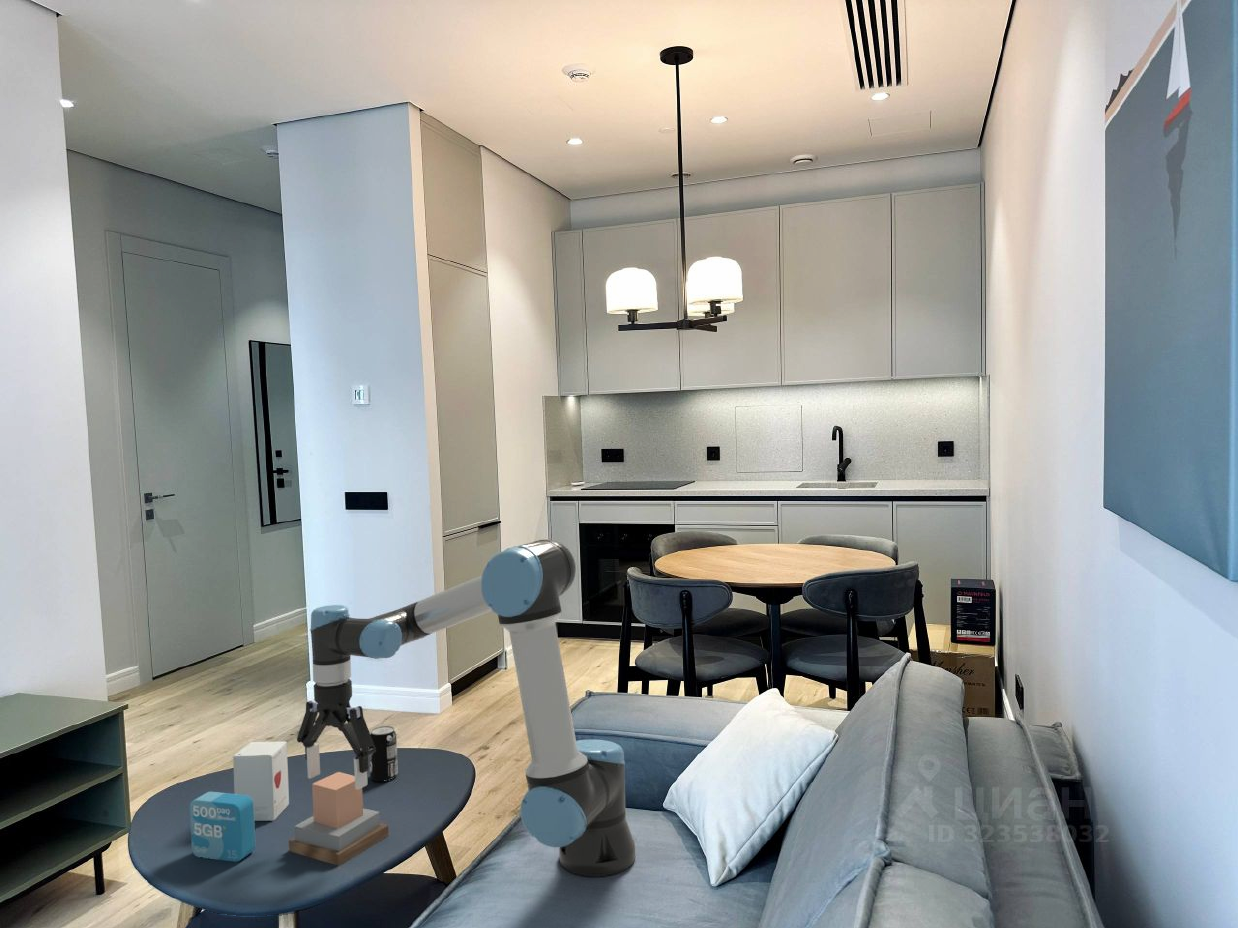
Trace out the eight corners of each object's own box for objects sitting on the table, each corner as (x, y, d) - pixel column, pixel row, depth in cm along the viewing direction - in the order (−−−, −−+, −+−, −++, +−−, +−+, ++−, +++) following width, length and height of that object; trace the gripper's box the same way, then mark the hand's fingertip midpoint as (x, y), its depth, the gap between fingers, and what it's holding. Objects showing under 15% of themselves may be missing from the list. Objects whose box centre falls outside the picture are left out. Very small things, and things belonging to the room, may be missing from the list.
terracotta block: (363, 814, 184) (361, 777, 184) (337, 828, 178) (335, 790, 178) (339, 808, 188) (338, 771, 188) (313, 821, 182) (312, 783, 182)
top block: (380, 825, 186) (379, 811, 186) (339, 851, 175) (338, 836, 175) (337, 815, 191) (336, 802, 191) (295, 840, 180) (294, 825, 180)
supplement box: (274, 821, 194) (271, 755, 194) (234, 822, 194) (231, 755, 194) (290, 803, 203) (287, 740, 203) (252, 804, 204) (249, 740, 203)
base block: (388, 838, 186) (388, 824, 186) (339, 869, 174) (338, 854, 174) (340, 825, 193) (340, 812, 193) (289, 854, 180) (288, 839, 180)
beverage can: (368, 775, 219) (366, 727, 218) (395, 770, 222) (393, 723, 221) (372, 784, 213) (370, 736, 212) (400, 779, 216) (398, 731, 215)
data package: (191, 856, 179) (188, 799, 178) (207, 846, 183) (204, 790, 183) (241, 863, 176) (238, 804, 175) (256, 852, 180) (253, 795, 180)
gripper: (390, 682, 179) (395, 784, 180) (304, 669, 191) (309, 765, 192) (363, 693, 172) (368, 798, 173) (276, 679, 184) (281, 777, 185)
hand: (337, 781), depth 183 cm, fingers open, 13 cm apart
